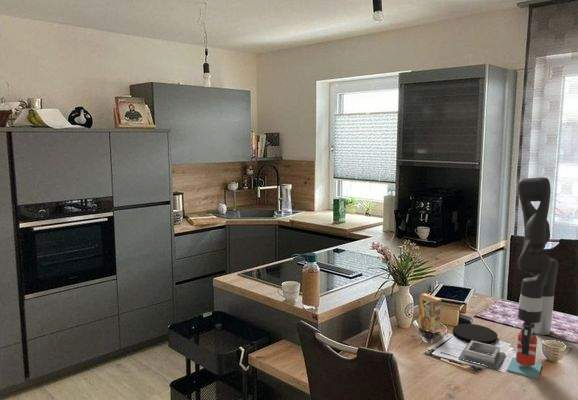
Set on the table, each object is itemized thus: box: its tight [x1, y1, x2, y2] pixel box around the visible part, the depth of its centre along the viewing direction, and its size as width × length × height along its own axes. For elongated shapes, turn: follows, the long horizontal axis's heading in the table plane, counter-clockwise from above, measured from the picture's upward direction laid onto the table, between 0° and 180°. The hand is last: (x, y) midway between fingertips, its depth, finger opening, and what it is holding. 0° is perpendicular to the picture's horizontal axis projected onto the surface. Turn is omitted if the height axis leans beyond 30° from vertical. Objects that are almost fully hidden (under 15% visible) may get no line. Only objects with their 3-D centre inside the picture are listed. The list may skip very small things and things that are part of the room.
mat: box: [506, 356, 543, 380], centre depth 175 cm, size 12×10×1 cm
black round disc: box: [452, 323, 498, 345], centre depth 203 cm, size 18×18×2 cm
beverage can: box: [515, 329, 538, 367], centre depth 174 cm, size 6×6×12 cm
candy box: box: [417, 293, 442, 333], centre depth 207 cm, size 9×4×15 cm, turn 34°
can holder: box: [458, 340, 506, 371], centre depth 183 cm, size 14×14×4 cm
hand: (526, 350), depth 174 cm, fingers closed on beverage can, 6 cm apart
